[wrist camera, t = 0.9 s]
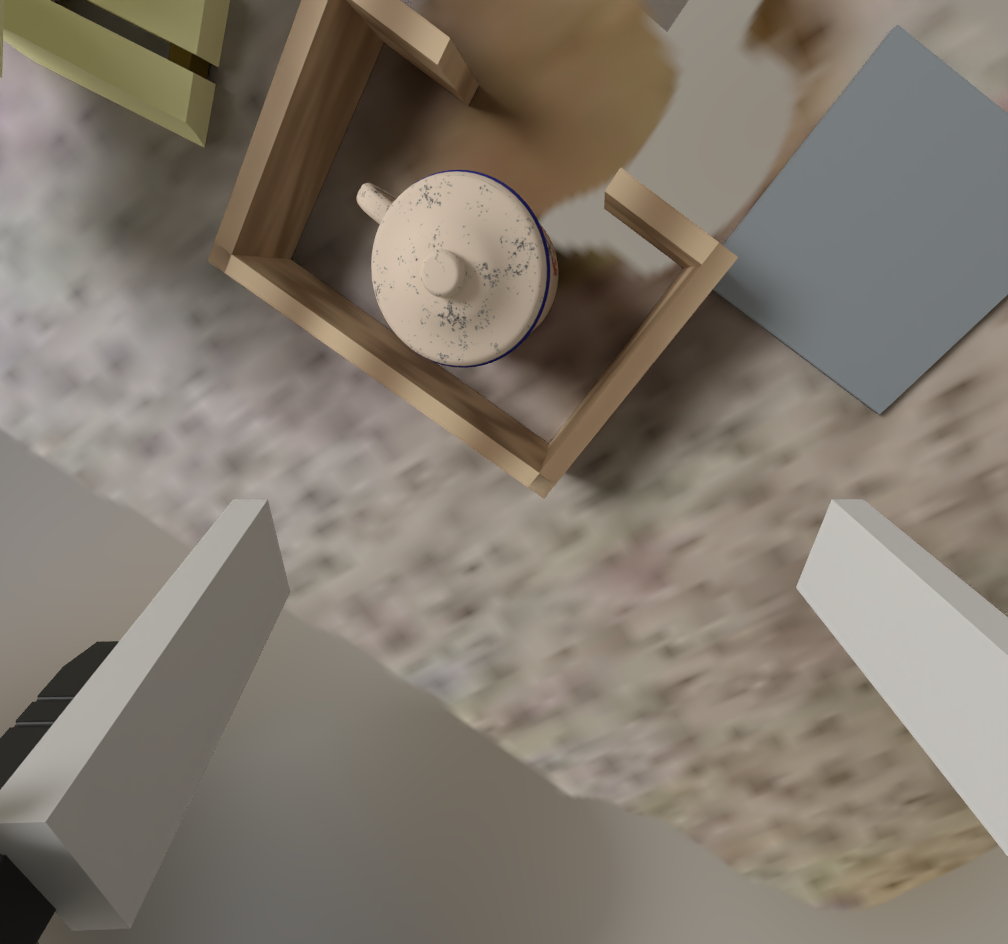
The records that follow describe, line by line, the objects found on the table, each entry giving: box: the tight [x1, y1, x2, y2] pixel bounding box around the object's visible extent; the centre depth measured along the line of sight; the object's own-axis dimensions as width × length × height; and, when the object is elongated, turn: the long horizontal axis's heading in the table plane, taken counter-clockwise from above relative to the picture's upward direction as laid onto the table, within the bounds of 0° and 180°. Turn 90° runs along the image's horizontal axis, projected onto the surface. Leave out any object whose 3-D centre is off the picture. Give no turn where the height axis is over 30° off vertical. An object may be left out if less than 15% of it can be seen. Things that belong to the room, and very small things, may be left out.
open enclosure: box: [207, 0, 738, 498], centre depth 30 cm, size 24×16×6 cm
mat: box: [712, 25, 1008, 414], centre depth 28 cm, size 14×14×1 cm
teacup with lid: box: [357, 170, 558, 367], centre depth 27 cm, size 12×9×12 cm
